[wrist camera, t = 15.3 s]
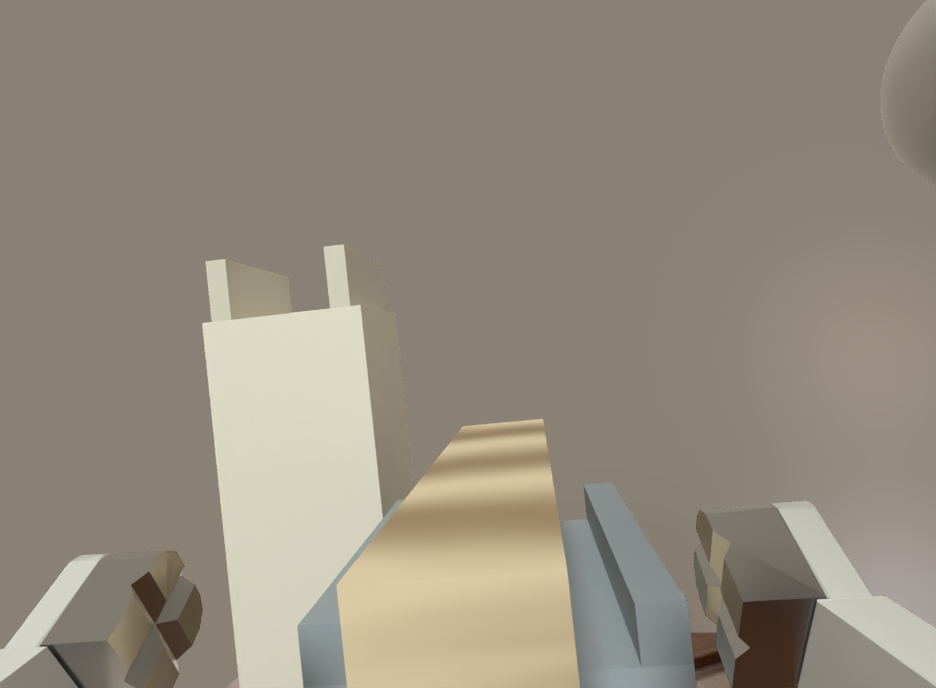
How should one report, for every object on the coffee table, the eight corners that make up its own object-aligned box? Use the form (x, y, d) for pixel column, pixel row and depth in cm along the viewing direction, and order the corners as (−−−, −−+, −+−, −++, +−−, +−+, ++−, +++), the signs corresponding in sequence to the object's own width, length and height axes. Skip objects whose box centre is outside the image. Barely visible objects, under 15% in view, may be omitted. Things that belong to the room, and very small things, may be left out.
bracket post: (313, 743, 38) (264, 279, 38) (440, 737, 37) (390, 264, 37) (256, 851, 30) (195, 262, 30) (417, 846, 29) (353, 243, 29)
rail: (471, 505, 30) (463, 426, 30) (551, 499, 30) (542, 418, 30) (360, 814, 11) (336, 584, 11) (592, 807, 10) (567, 569, 10)
